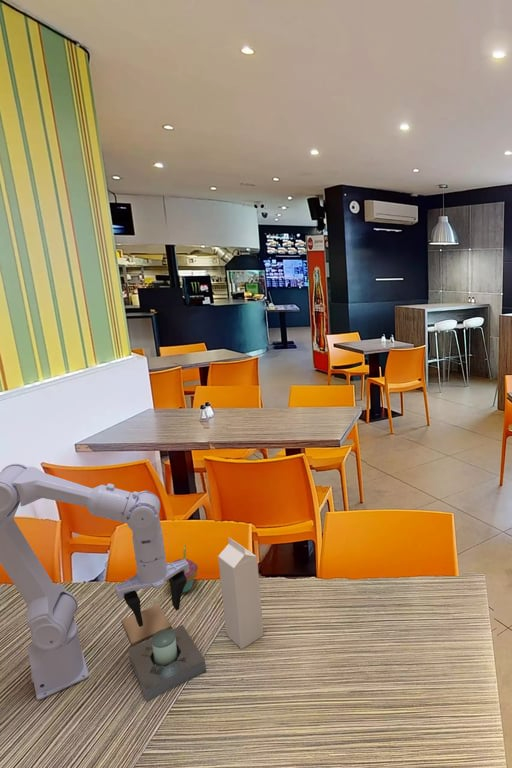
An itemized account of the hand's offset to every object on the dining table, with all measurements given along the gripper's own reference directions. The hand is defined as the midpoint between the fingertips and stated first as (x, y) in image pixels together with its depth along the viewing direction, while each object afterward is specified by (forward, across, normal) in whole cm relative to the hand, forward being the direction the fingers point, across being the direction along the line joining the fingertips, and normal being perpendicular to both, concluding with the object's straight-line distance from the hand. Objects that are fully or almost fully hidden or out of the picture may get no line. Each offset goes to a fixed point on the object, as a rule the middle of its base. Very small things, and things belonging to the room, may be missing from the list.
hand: (158, 615), depth 91 cm
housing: (+10, 0, -2) cm, 10 cm away
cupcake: (+10, +12, +20) cm, 25 cm away
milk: (+10, +17, -4) cm, 20 cm away
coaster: (+10, 0, +12) cm, 15 cm away
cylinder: (+10, 0, -2) cm, 10 cm away
